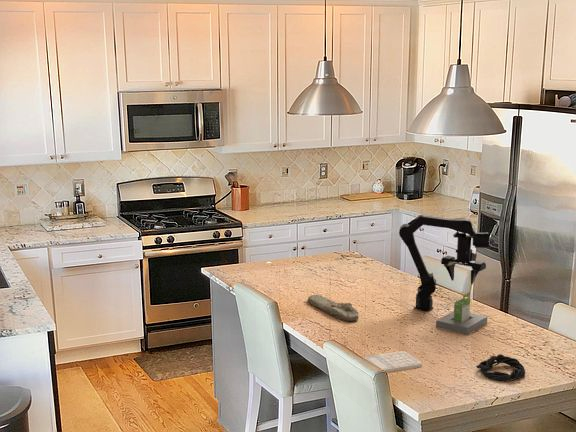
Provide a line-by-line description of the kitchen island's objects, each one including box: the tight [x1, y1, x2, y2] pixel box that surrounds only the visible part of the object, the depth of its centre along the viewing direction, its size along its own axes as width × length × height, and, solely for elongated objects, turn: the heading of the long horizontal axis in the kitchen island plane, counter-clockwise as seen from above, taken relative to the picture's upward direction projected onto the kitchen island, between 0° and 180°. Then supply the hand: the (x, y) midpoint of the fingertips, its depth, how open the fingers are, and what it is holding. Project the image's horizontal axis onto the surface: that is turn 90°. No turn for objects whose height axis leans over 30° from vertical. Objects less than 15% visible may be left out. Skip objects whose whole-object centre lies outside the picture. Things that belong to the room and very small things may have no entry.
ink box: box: [453, 291, 471, 323], centre depth 304 cm, size 7×4×13 cm, turn 140°
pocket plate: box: [435, 310, 488, 336], centre depth 305 cm, size 14×18×3 cm
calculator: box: [362, 350, 423, 373], centre depth 265 cm, size 13×20×2 cm, turn 111°
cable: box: [475, 354, 526, 382], centre depth 257 cm, size 17×14×4 cm
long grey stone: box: [307, 294, 360, 322], centre depth 324 cm, size 35×5×10 cm
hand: (462, 282), depth 321 cm, fingers open, 9 cm apart
